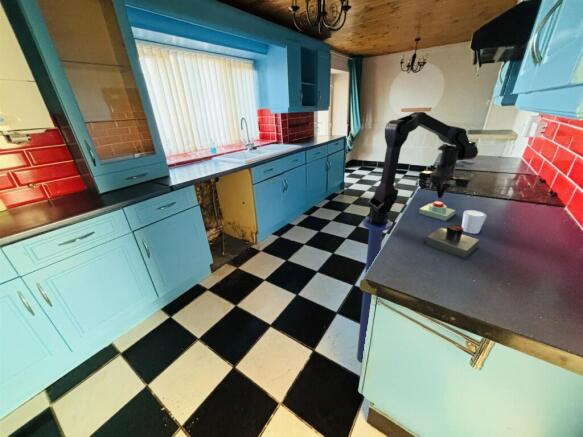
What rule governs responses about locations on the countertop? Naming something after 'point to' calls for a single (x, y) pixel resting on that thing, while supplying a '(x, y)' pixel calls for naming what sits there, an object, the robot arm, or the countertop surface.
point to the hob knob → (454, 232)
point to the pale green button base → (437, 212)
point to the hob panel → (452, 243)
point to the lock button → (438, 204)
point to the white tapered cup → (473, 221)
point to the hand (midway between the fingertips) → (439, 197)
